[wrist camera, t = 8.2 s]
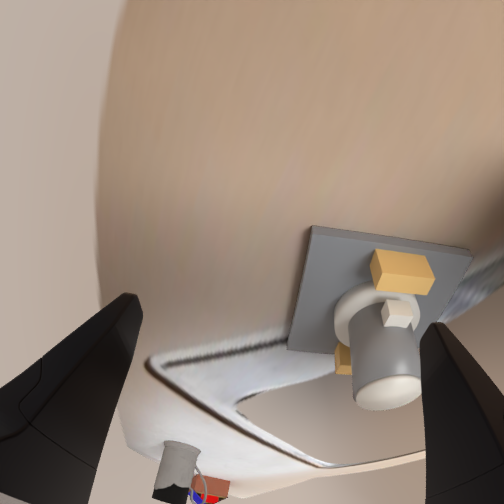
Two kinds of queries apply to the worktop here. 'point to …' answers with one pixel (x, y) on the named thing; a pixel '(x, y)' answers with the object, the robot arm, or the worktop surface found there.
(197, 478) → the house
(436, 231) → the worktop surface
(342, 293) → the board
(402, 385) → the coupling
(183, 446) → the glass holder
